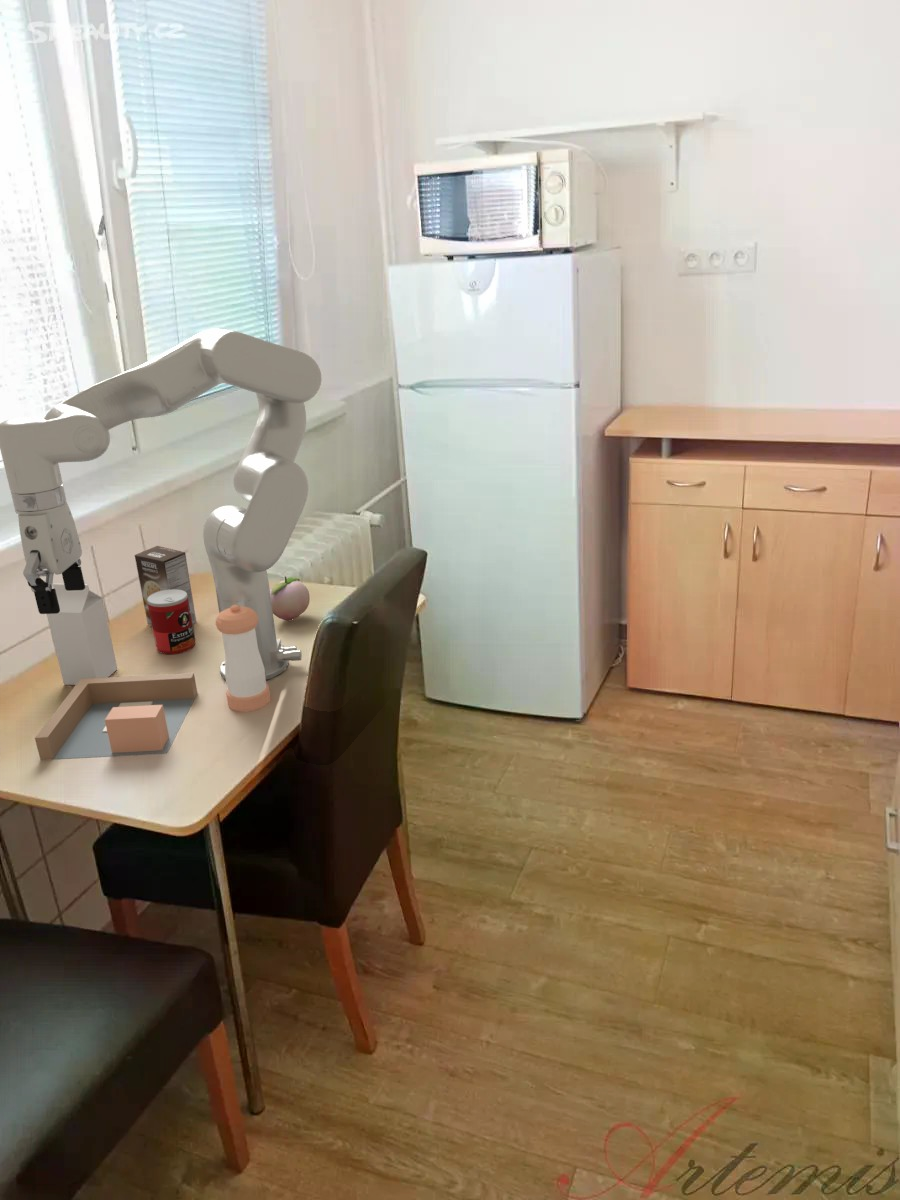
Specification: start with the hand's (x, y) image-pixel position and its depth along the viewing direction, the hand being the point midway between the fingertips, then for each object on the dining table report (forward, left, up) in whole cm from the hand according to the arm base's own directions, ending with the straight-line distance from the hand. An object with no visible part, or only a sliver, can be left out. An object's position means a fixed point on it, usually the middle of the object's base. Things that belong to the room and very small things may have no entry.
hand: (63, 601), depth 149 cm
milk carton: (+6, -18, -23) cm, 30 cm away
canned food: (-7, -30, -23) cm, 38 cm away
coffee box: (-3, -42, -23) cm, 48 cm away
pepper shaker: (-27, -3, -23) cm, 35 cm away
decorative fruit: (-29, -40, -23) cm, 54 cm away
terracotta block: (-12, +10, -22) cm, 26 cm away
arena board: (-7, +3, -23) cm, 24 cm away
